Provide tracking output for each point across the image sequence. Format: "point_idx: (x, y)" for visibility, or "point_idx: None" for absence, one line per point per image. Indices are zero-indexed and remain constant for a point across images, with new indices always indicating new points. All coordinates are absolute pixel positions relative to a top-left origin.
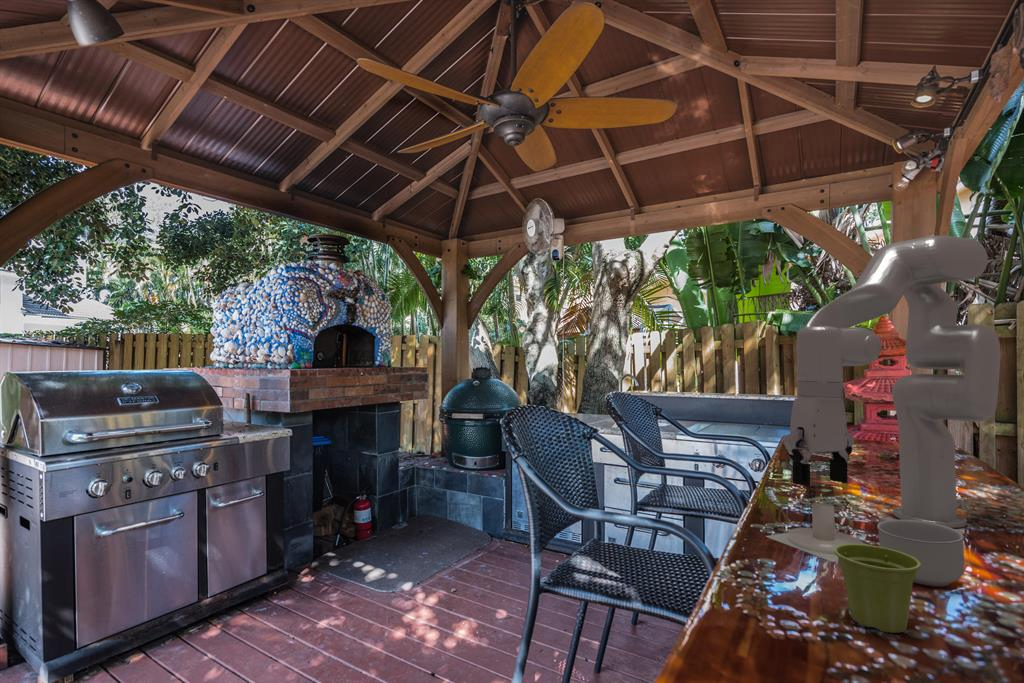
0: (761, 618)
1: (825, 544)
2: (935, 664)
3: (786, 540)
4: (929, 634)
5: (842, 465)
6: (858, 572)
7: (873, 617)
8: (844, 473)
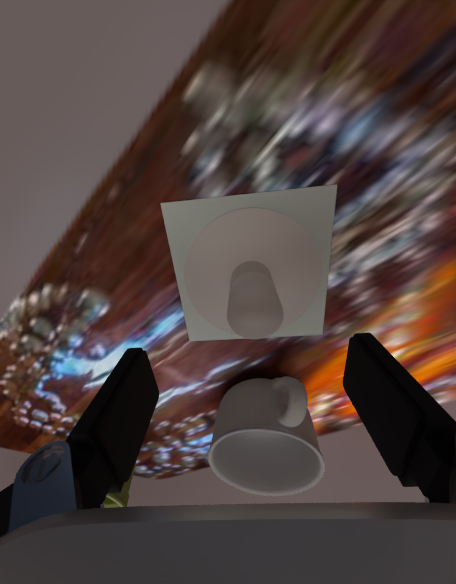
0: (17, 403)
1: (221, 308)
2: None
3: (188, 241)
4: (149, 450)
5: (386, 453)
6: None
7: None
8: (362, 420)
